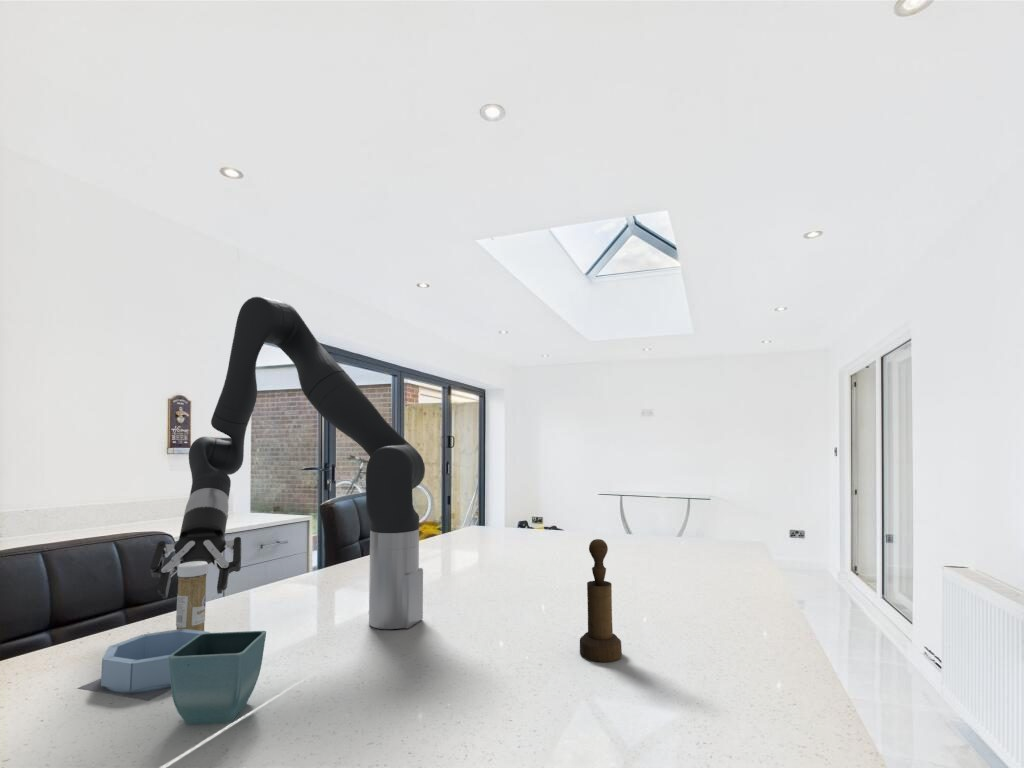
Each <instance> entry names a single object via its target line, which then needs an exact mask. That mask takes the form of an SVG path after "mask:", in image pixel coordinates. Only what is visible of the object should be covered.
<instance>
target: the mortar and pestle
mask: <svg viewBox="0 0 1024 768" xmlns="http://www.w3.org/2000/svg"><path fill="white" fill-rule="evenodd" d="M588 546H589V547H588V551H589V553H590V556H591V557H592V559H593V562H594V564H593V566H592V568H591V571H592V576H593V578H594V579H593V580H590V581H587V582H586V589H587V590H586V591H587V596H586V597H587V632H584V634H583V635H581V636H580V638H579V655H580V656H581V657H582V658H584V659H586V660H589V661H594V662H599V663H609V662H615V661H619V659H621V658H622V653H623V651H622V640H621V638H619V637H618V636H617V635H616V634H615V633H613V597H612V595H613V594H612V593H613V591H612V586H613V585H612V583H611V582H610V581H606V580H605V579H606V578H605V577H606V572H607V568H606V567H605V565H604V561H605V558H606V556H607V553H608V549H609V548H608V543H606V541H605V540H603V539H599V538H595V539H593V540H591V541H590V543H589V545H588Z"/></svg>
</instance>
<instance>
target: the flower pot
mask: <svg viewBox="0 0 1024 768" xmlns="http://www.w3.org/2000/svg"><path fill="white" fill-rule="evenodd" d="M266 636H267V630H251V631H250V630H249V631H248V630H247V631H225V632H210V633H202V634H199V635H197V636H196V637H194V638H193V639H192V640H190V641H189V642H188V643H186V644H185V645H183V646H182V647H181V648H179V649H178V650H176V651H175V652H173V653H172V654H171V655H170V656H169V657H168V659H169V670H170V682H171V690H170V691H171V697H172V701H173V704H174V707H175V709H176V710H177V713H178V714H179V716H180V717H181V718H182V719H183V720H184V721H183V722H185V723H186V724H187V725H189V726H190V725H205V724H206V725H207V724H227V723H231V722H232V721H234V720H235V718H236V717H237V715H238V714H239V713H240V712H241V711H242V710H243V709H244V707H246V705H247V703H248V701H249V699H250V698H251V696H252V694H253V692H254V690H255V688H256V685H257V682H258V679H259V676H260V673H261V669H262V664H263V657H264V651H265V644H266V643H265V642H266Z"/></svg>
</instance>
